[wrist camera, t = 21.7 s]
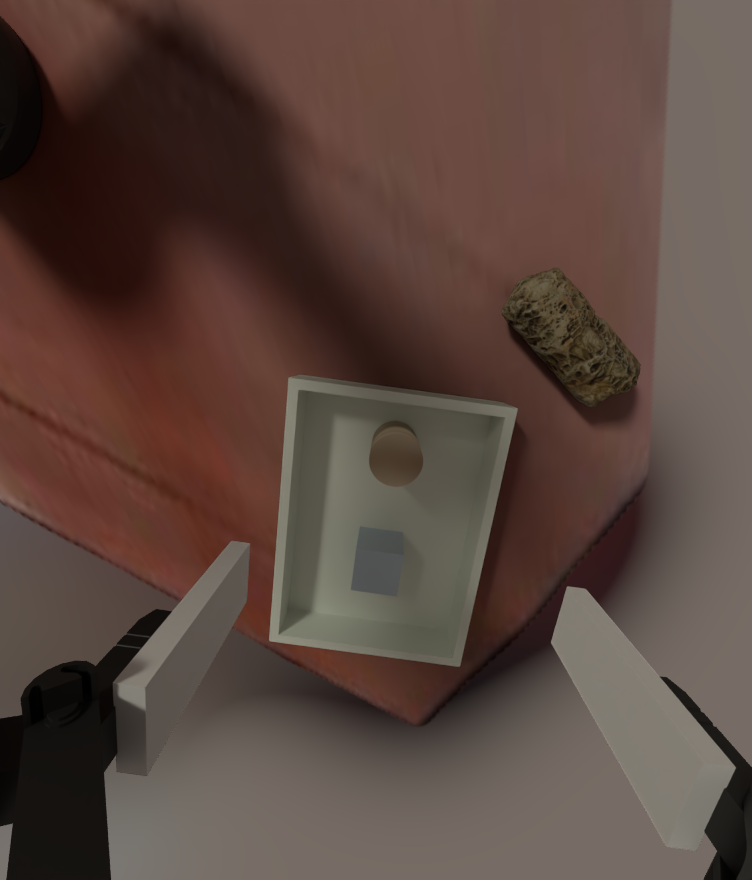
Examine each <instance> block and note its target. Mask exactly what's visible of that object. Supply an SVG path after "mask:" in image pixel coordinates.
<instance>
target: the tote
mask: <svg viewBox="0 0 752 880" xmlns="http://www.w3.org/2000/svg"><path fill="white" fill-rule="evenodd" d="M517 410H518V408H515V407H513V406H510V405H508V404H506V403H503V402H499V401H492V400H484V399H477V398H470V397H462V396H455V395H447V394H440V393H433V392H425V391H418V390H411V389H403V388H396V387H388V386H381V385H374V384H366V383H359V382H351V381H344V380H337V379H329V378H322V377H315V376H307V375H298V376H293V377H289V382H288V395H287V409H286V422H285V435H284V449H283V462H282V475H281V489H280V502H279V516H278V529H277V542H276V556H275V569H274V582H273V596H272V609H271V623H270V636H269V641H272V642H280V643H287V644H295V645H302V646H309V647H317V648H324V649H331V650H339V651H346V652H354V653H361V654H368V655H376V656H383V657H390V658H398V659H405V660H412V661H420V662H427V663H435V664H442V665H449V666H457V667H460V664H461V660H462V655H463V651H464V646H465V642H466V637H467V633H468V629H469V624H470V620H471V615H472V611H473V606H474V602H475V597H476V593H477V588H478V584H479V580H480V575H481V571H482V566H483V562H484V557H485V553H486V548H487V544H488V539H489V535H490V530H491V526H492V522H493V517H494V513H495V508H496V504H497V499H498V495H499V490H500V486H501V481H502V477H503V473H504V468H505V464H506V459H507V455H508V450H509V446H510V441H511V437H512V432H513V428H514V423H515V419H516V415H517ZM389 421H400V422H403V423H405V424H407V425H409V426H410V427H411V428H412V429H413V431H414V432H415V434H416V437H417V440H418V443H419V446H420V448H421V451H422V454H423V467H422V470H421V472H420V474H419V475H418V477H417V478H416V479H415V480H414V481H412V482H411V483H409V484H407V485H404V486H400V487H392V486H388V485H385V484H383V483H381V482H380V481H378V480H377V479H376V478H375V477H374V475H373V474H372V472H371V469H370V466H369V456H370V450H371V444H372V439H373V435H374V433H375V431H376V430H377V429H378V428H379V427H380V426H381V425H382V424H384V423H386V422H389ZM360 526H361V527H368V528H375V529H382V530H390V531H397V532H402V538H403V551H404V557H403V563H402V569H401V575H400V581H399V586H398V592H397V597H396V596H389V595H382V594H375V593H368V592H360V591H353V590H351V584H352V576H353V569H354V562H355V554H356V547H357V541H358V535H359V529H360Z"/></svg>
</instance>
